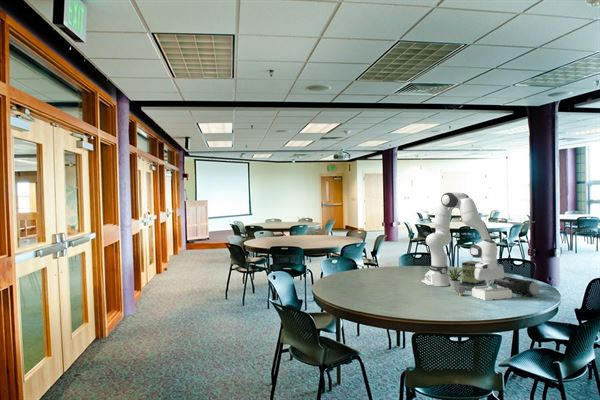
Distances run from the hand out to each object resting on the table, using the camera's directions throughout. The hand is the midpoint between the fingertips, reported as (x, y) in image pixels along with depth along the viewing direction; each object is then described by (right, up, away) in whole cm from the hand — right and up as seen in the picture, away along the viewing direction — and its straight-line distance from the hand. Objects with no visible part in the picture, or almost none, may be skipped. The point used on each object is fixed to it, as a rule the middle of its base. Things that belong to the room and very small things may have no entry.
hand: (489, 286), depth 250 cm
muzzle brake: (+22, -7, +9) cm, 25 cm away
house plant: (-13, -8, +22) cm, 27 cm away
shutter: (+5, -2, +1) cm, 6 cm away
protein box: (+9, -7, +43) cm, 45 cm away
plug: (-17, -7, +6) cm, 19 cm away
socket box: (+1, -7, 0) cm, 7 cm away
